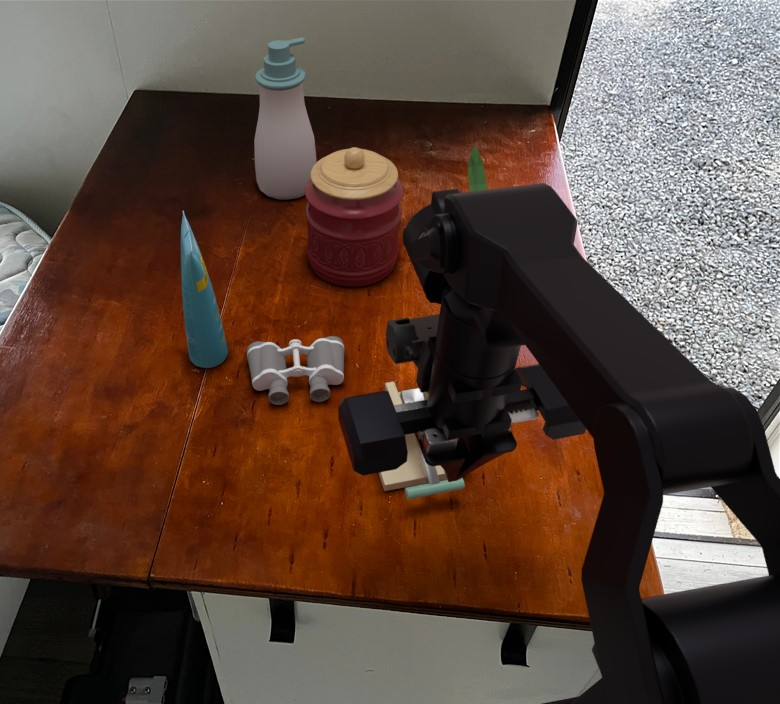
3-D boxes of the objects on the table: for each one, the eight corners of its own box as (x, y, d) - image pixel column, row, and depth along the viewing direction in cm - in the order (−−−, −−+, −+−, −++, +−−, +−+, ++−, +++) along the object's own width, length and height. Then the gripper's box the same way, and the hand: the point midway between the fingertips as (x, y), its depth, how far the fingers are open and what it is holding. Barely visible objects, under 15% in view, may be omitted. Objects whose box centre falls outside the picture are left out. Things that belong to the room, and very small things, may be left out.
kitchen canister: (292, 275, 100) (285, 164, 87) (328, 224, 108) (327, 116, 95) (379, 299, 96) (385, 186, 83) (410, 244, 104) (420, 134, 91)
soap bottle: (327, 191, 114) (325, 49, 98) (271, 208, 111) (260, 65, 95) (301, 163, 120) (295, 25, 104) (247, 178, 117) (233, 39, 101)
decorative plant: (470, 311, 90) (448, 148, 106) (470, 345, 97) (450, 188, 113) (520, 306, 89) (490, 142, 105) (516, 341, 96) (489, 183, 112)
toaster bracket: (465, 475, 76) (475, 431, 70) (384, 491, 75) (388, 447, 69) (430, 392, 84) (436, 346, 78) (356, 406, 83) (357, 360, 77)
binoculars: (343, 351, 89) (343, 331, 87) (350, 400, 84) (351, 380, 81) (248, 358, 89) (245, 338, 86) (249, 407, 83) (246, 388, 81)
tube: (234, 369, 87) (215, 244, 74) (196, 380, 86) (169, 255, 73) (220, 330, 92) (199, 206, 79) (183, 339, 91) (156, 215, 78)
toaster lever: (461, 490, 73) (467, 486, 71) (405, 501, 72) (409, 497, 70) (433, 391, 77) (438, 384, 75) (380, 401, 76) (383, 393, 74)
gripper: (551, 259, 56) (516, 389, 67) (321, 295, 54) (324, 423, 65) (621, 358, 49) (568, 486, 60) (357, 404, 46) (353, 528, 58)
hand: (450, 476), depth 61 cm, fingers closed
